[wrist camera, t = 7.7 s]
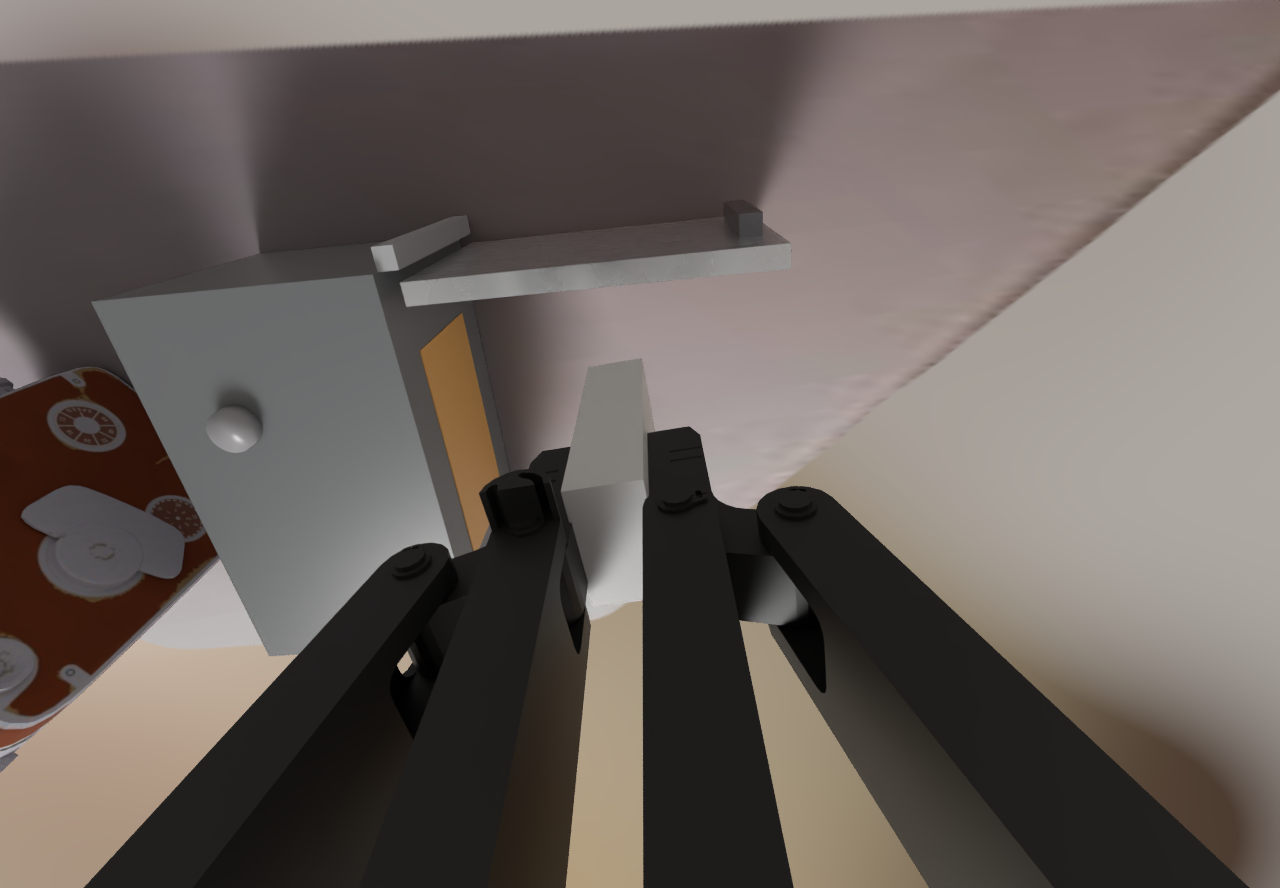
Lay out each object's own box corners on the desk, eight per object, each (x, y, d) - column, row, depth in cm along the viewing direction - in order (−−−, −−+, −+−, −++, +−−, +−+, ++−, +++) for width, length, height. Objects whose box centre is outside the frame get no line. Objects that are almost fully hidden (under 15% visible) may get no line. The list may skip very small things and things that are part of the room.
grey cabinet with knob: (371, 561, 46) (278, 701, 34) (252, 235, 35) (61, 281, 24) (538, 550, 45) (501, 689, 34) (469, 214, 34) (379, 250, 23)
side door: (749, 232, 34) (790, 268, 24) (474, 260, 35) (406, 306, 25) (749, 194, 33) (791, 216, 23) (466, 224, 34) (392, 257, 24)
